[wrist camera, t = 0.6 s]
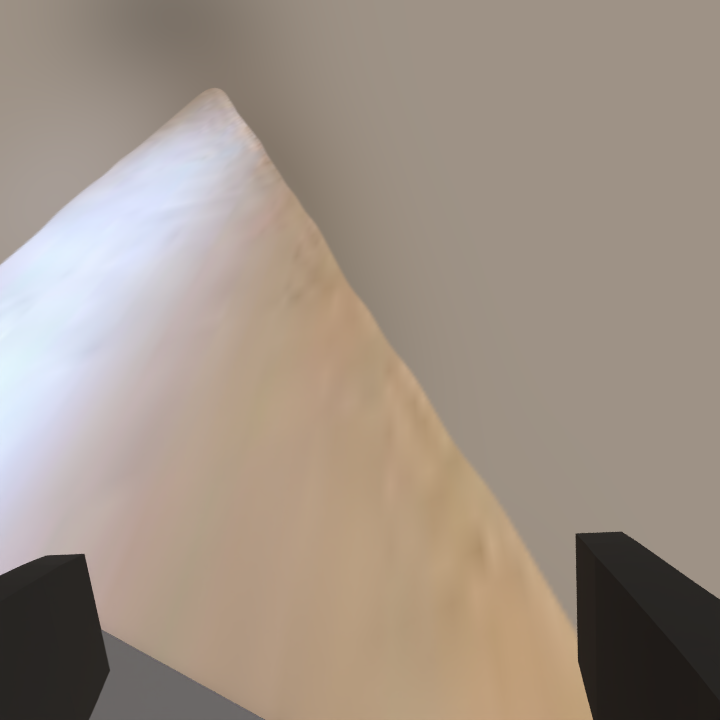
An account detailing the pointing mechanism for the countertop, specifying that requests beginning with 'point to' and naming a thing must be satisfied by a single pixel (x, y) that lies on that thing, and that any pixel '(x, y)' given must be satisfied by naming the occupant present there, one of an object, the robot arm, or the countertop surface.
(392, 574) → the countertop surface
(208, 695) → the mat
